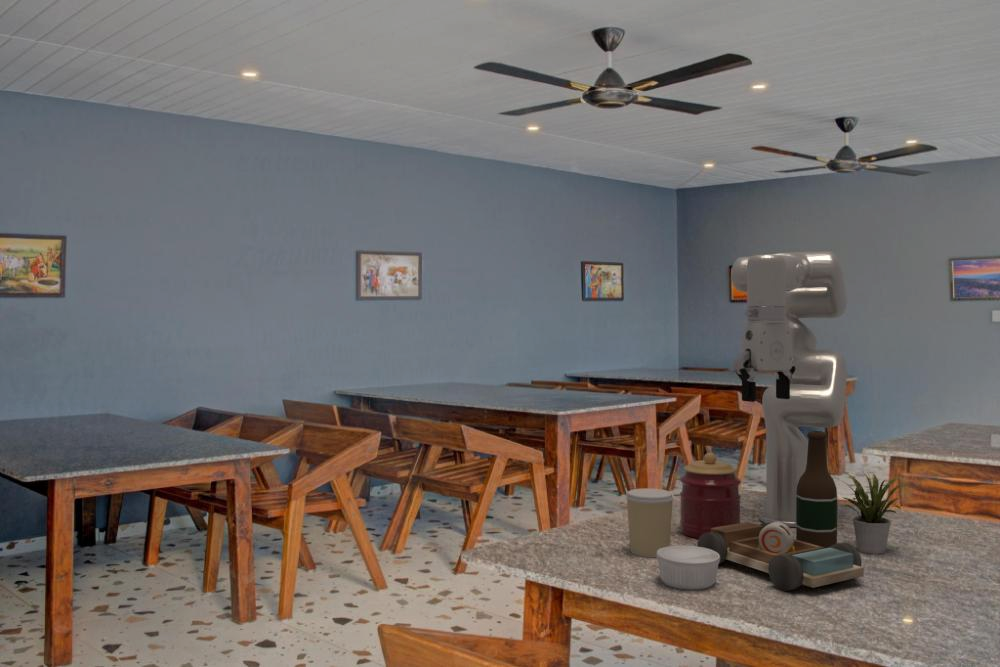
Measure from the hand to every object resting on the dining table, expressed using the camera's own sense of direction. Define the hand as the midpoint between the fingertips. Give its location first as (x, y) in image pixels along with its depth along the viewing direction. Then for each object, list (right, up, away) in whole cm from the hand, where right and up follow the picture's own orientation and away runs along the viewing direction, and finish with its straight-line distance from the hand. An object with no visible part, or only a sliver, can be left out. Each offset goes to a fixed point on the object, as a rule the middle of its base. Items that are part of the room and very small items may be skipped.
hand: (766, 400), depth 179 cm
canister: (-8, -30, +13) cm, 34 cm away
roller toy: (-3, -28, -15) cm, 32 cm away
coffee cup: (-24, -31, -2) cm, 39 cm away
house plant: (+22, -31, -2) cm, 38 cm away
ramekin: (-21, -31, -22) cm, 43 cm away
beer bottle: (+10, -31, -1) cm, 32 cm away
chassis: (-3, -31, -15) cm, 34 cm away
